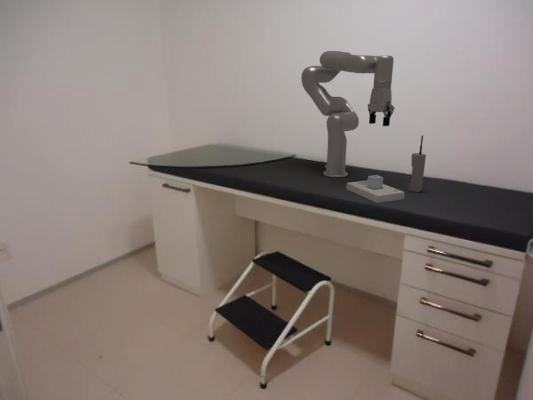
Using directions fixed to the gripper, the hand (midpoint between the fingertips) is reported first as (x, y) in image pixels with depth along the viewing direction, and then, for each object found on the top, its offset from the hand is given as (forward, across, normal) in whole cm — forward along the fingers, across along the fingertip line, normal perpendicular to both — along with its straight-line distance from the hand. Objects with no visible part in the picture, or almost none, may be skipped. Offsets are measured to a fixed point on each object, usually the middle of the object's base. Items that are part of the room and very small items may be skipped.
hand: (378, 124), depth 181 cm
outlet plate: (+28, +12, -9) cm, 32 cm away
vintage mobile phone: (+28, +15, +11) cm, 34 cm away
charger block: (+28, +12, -9) cm, 31 cm away
